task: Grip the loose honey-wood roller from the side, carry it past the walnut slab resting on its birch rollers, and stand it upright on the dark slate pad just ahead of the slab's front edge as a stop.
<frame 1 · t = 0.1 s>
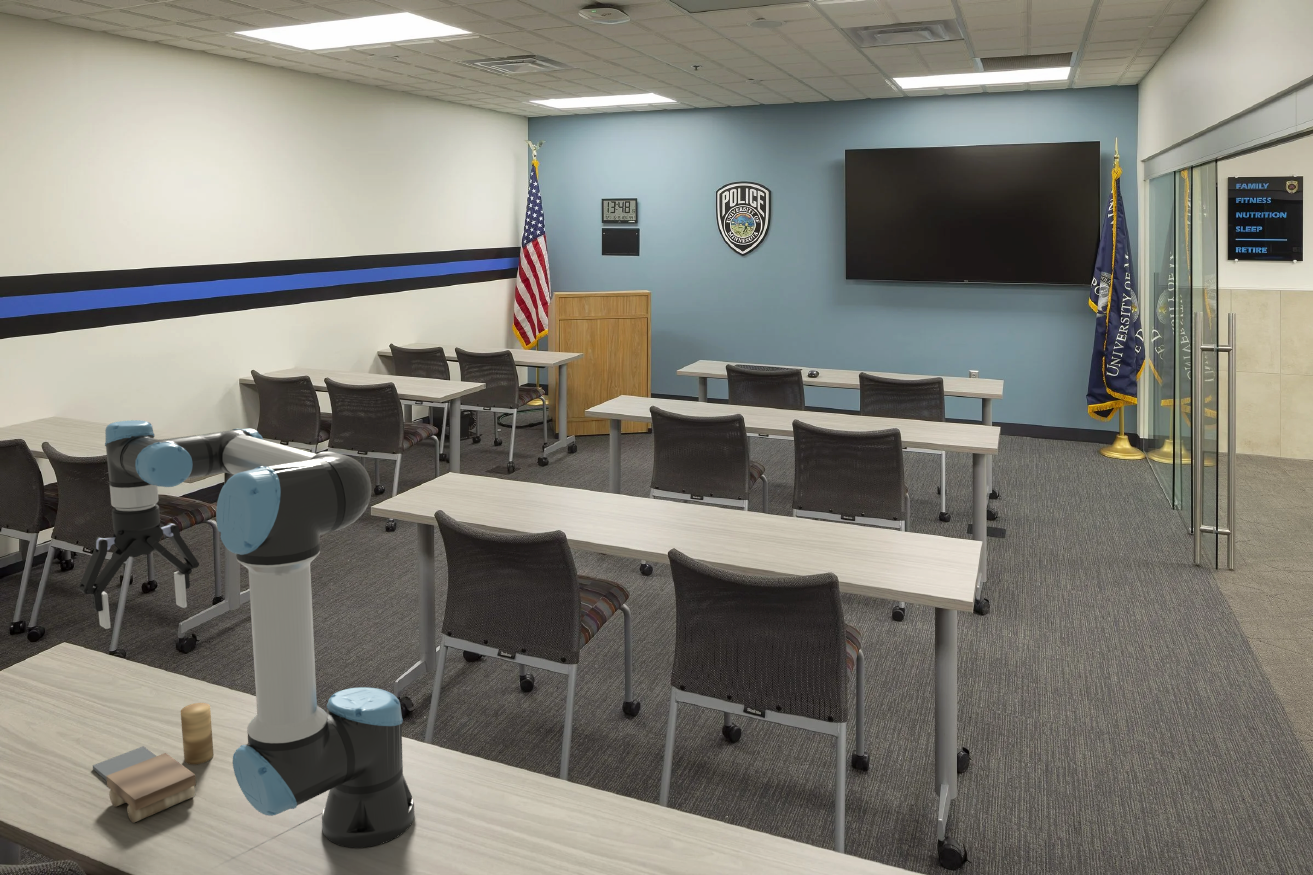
hand: (144, 616, 172), 28 cm above the table, tool pointing down, fingers open, 13 cm apart
pad: (129, 767, 172), on the table
slab: (153, 800, 162), on the table
roller: (199, 757, 176), on the table
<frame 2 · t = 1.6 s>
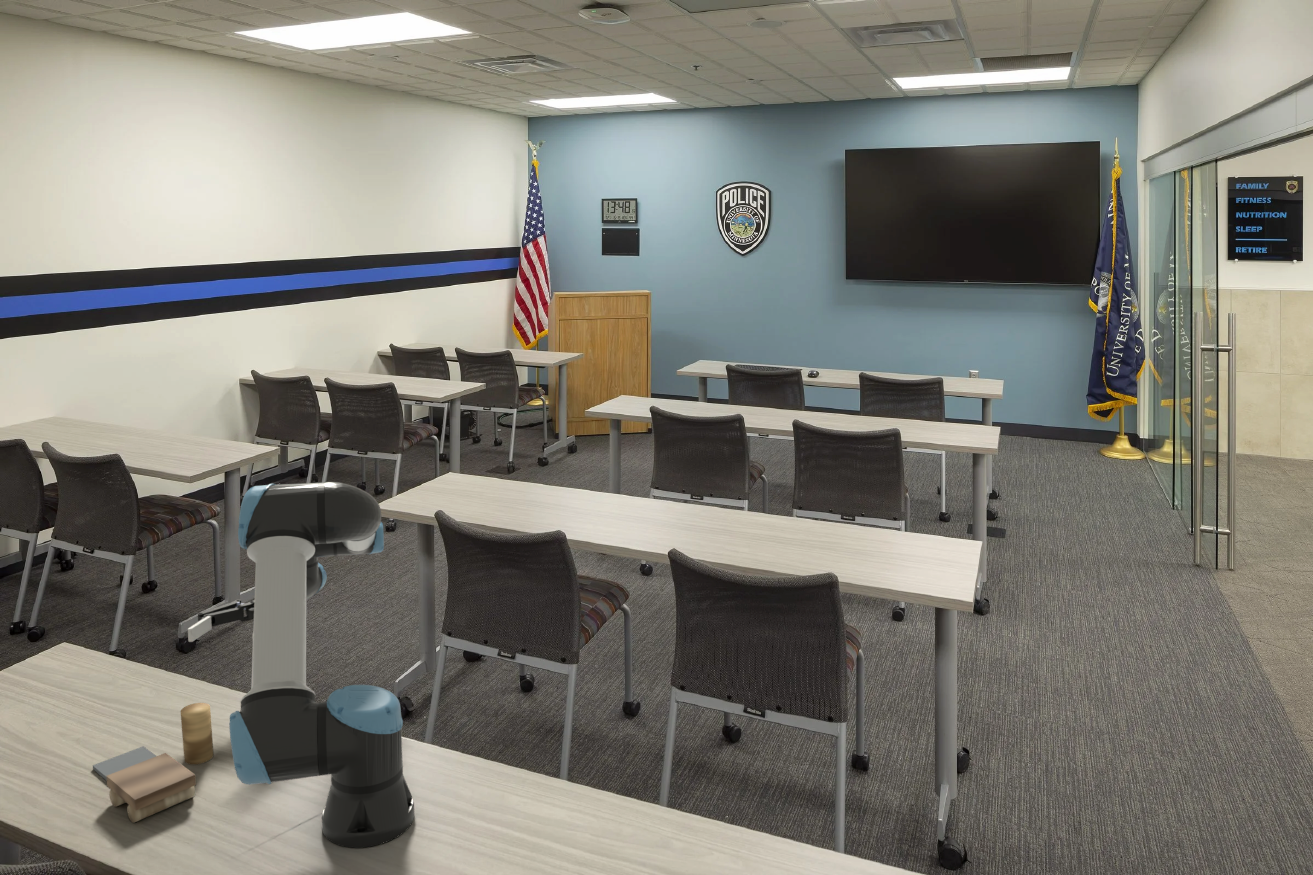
hand: (221, 638, 181), 20 cm above the table, tool horizontal, fingers open, 13 cm apart
nothing on the table moved.
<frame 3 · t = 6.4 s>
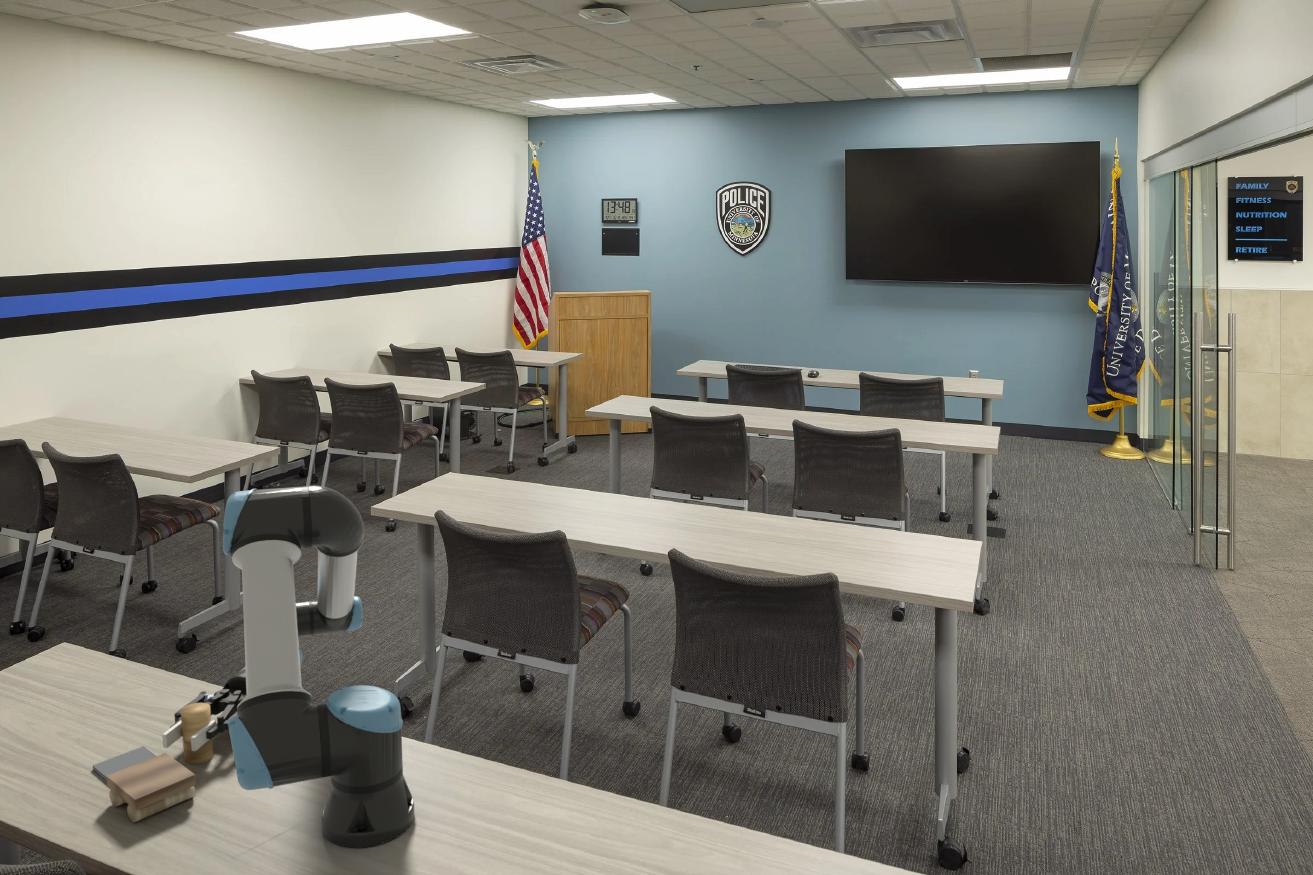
hand: (179, 742, 170), 6 cm above the table, tool horizontal, fingers closed on roller, 5 cm apart
roller: (198, 757, 176), on the table, touching gripper
when the fingers open (8 cm above the table, at t = 11.1 s): roller drops 1 cm, resting on pad.
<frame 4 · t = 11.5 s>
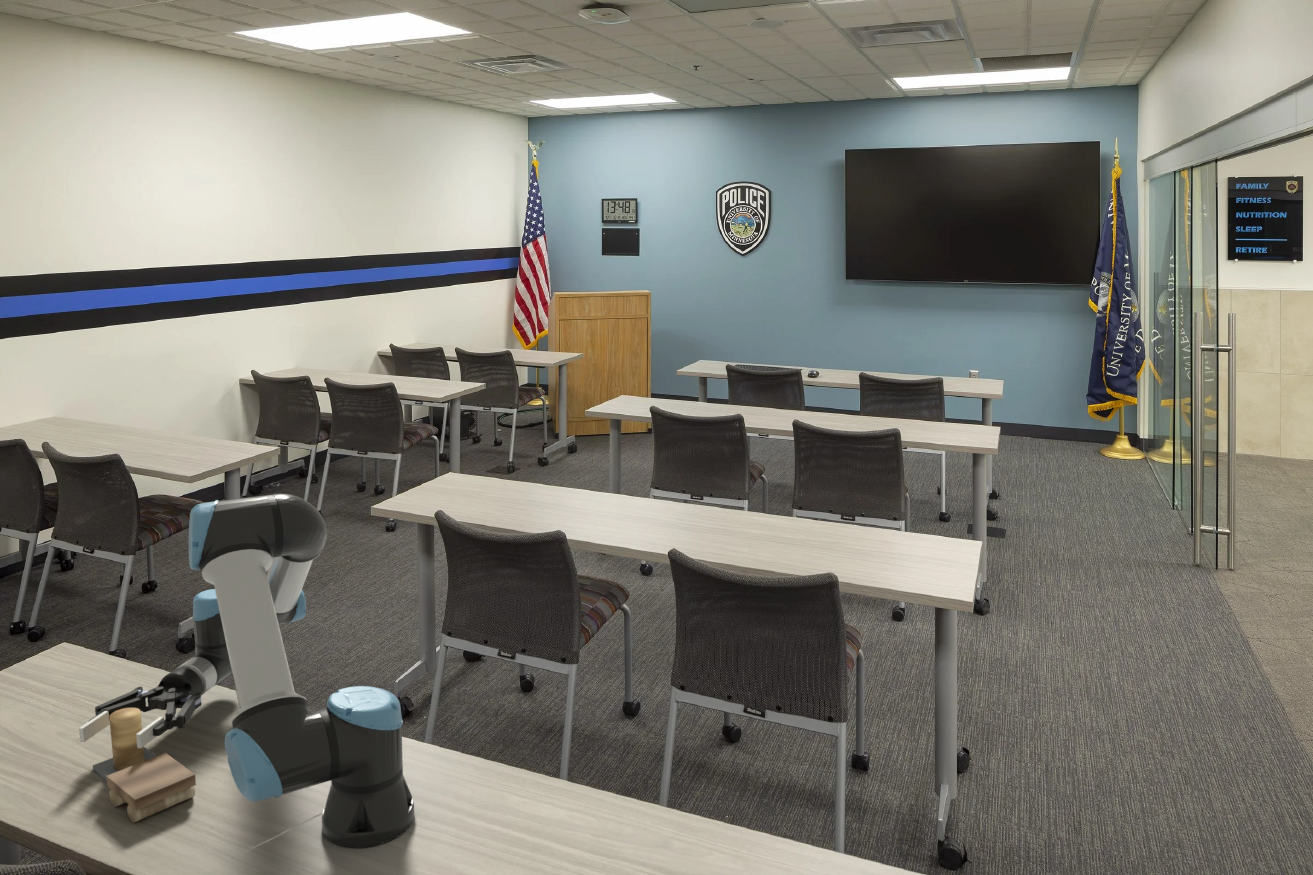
hand: (109, 738, 166), 8 cm above the table, tool horizontal, fingers open, 10 cm apart
roller: (129, 763, 172), point 1 cm above the table, touching pad
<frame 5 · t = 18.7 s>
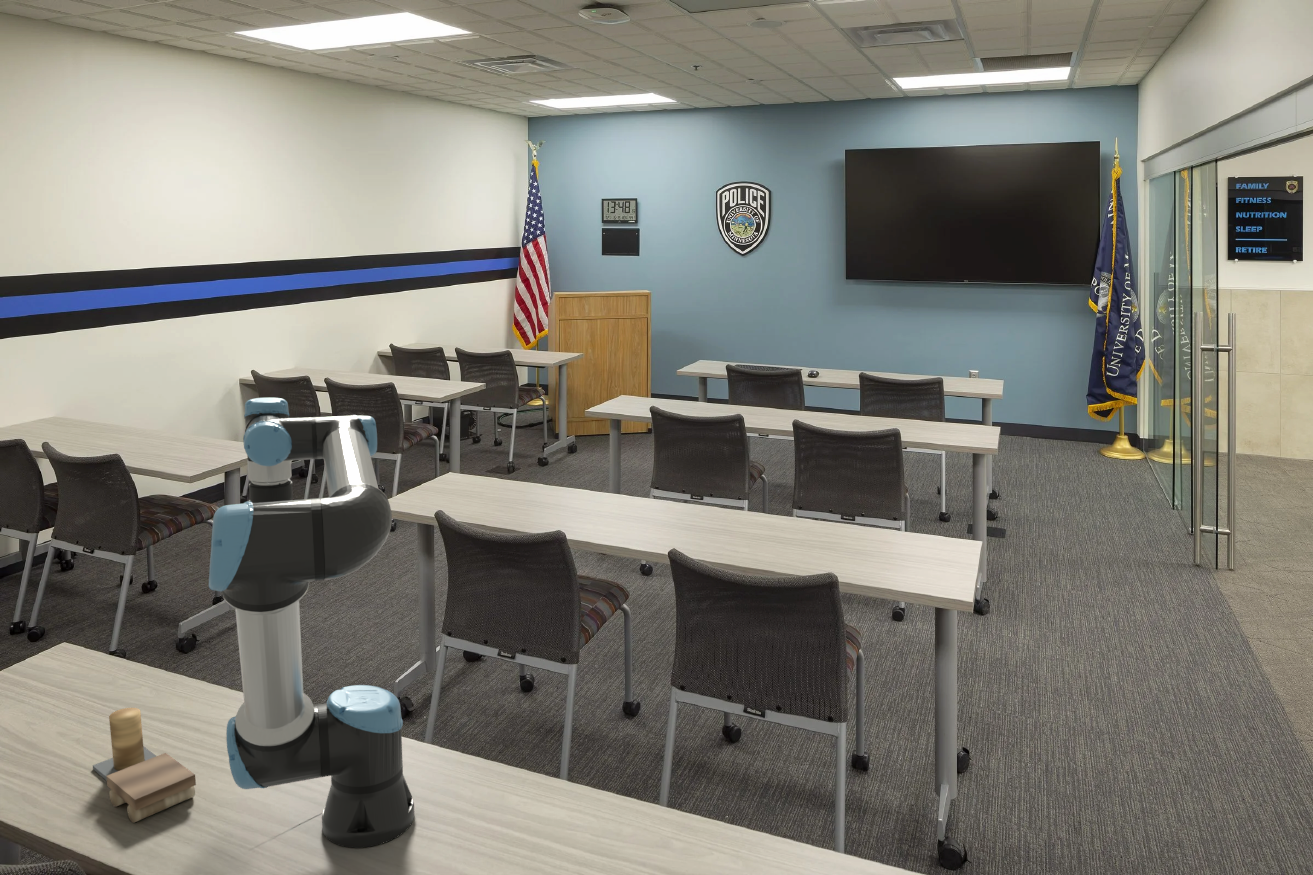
hand: (276, 587, 177), 32 cm above the table, tool pointing down, fingers open, 13 cm apart
nothing on the table moved.
at the end: roller 0.1 cm off-centre on the pad, point 0.8 cm above the pad's base; roller tilted 0°; the gripper is holding nothing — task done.
